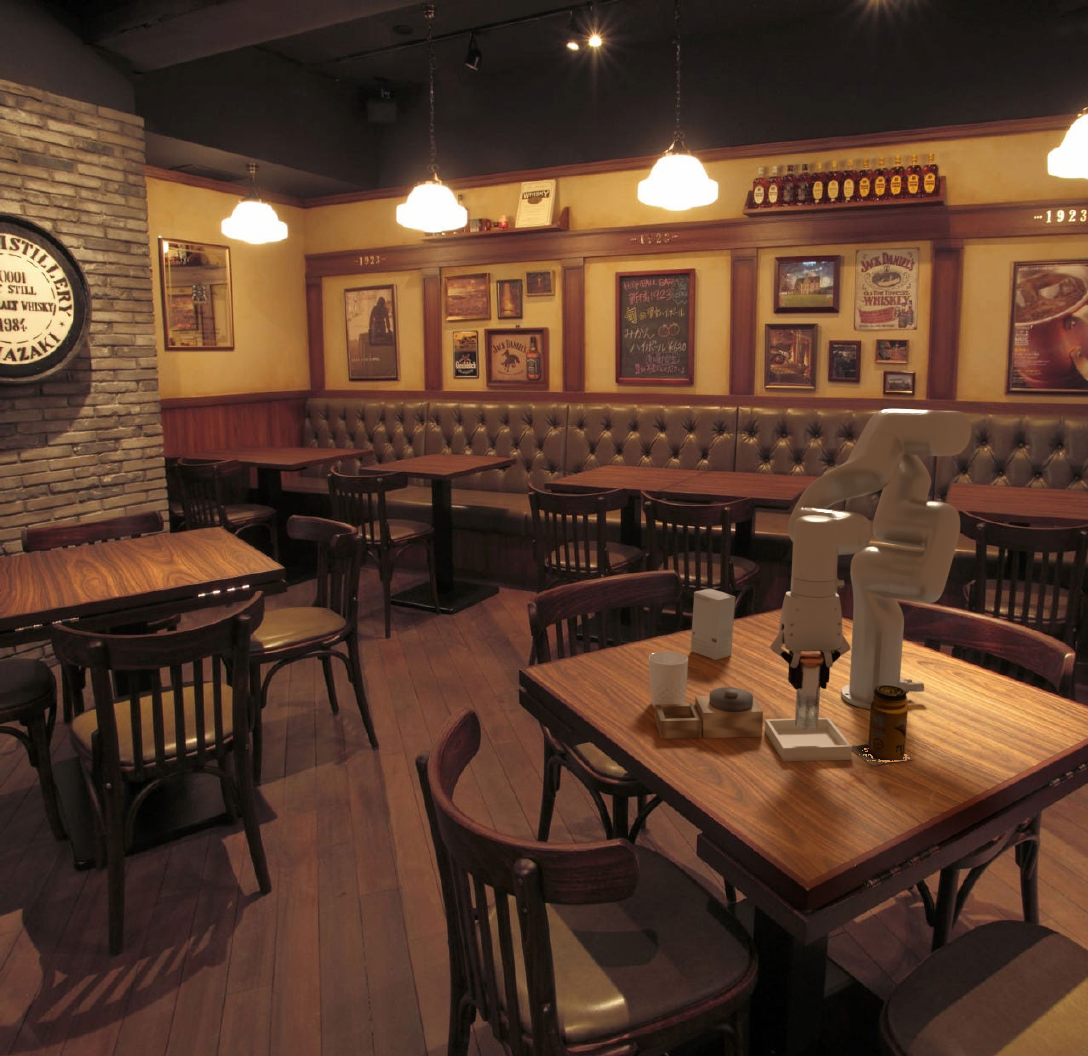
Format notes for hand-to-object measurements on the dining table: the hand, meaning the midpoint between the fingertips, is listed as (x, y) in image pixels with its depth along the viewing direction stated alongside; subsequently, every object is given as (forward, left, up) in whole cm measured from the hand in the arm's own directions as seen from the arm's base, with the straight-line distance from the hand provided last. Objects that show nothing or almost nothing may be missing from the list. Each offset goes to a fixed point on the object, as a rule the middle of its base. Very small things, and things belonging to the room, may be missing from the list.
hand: (808, 685), depth 155 cm
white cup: (+22, -20, -12) cm, 32 cm away
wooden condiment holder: (+16, -8, -12) cm, 21 cm away
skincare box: (+7, -49, -12) cm, 51 cm away
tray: (0, 0, -12) cm, 12 cm away
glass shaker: (0, 0, -7) cm, 7 cm away
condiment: (-12, +4, -12) cm, 17 cm away
